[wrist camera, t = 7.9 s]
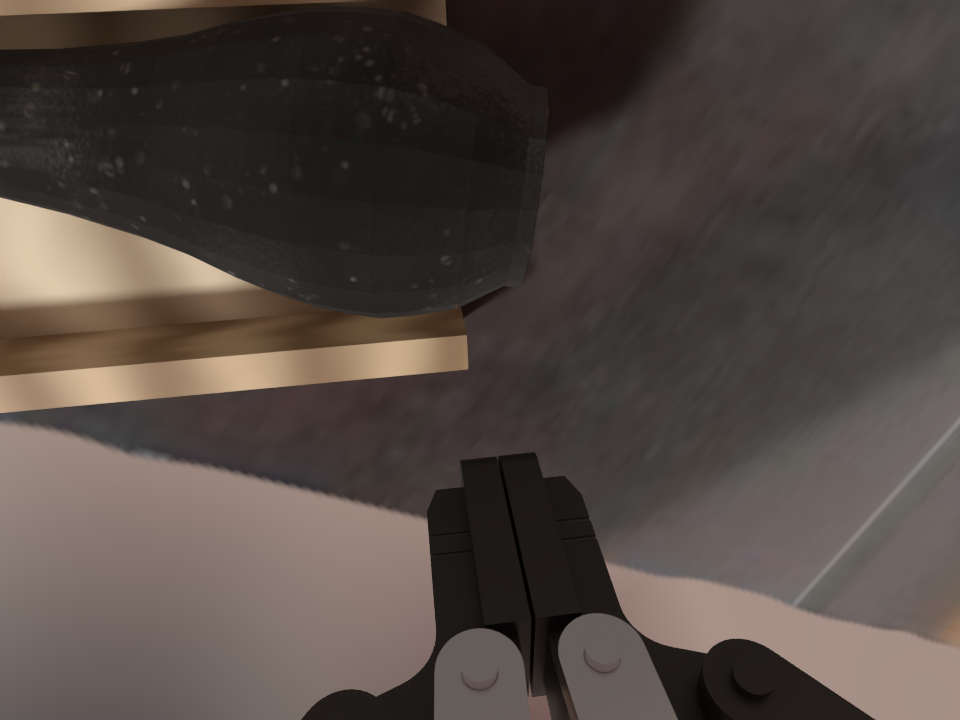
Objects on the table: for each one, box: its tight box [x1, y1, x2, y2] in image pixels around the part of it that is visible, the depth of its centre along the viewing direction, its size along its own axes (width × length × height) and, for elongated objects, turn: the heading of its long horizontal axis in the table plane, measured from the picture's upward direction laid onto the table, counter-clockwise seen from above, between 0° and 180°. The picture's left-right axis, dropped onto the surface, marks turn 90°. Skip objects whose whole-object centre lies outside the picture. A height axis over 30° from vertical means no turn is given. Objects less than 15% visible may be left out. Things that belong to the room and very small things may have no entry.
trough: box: [0, 0, 468, 413], centre depth 27 cm, size 28×18×4 cm, turn 91°
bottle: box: [0, 6, 548, 318], centre depth 23 cm, size 11×11×30 cm
